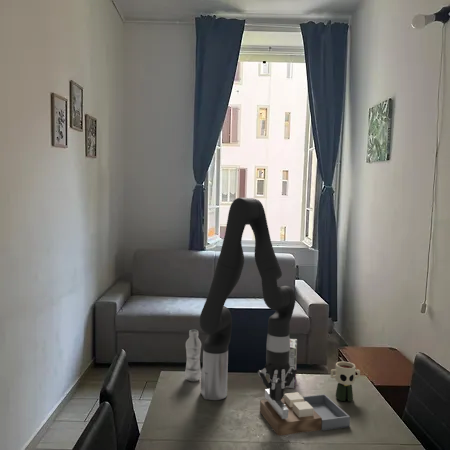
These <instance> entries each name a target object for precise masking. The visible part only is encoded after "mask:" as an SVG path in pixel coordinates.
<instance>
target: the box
mask: <svg viewBox="0 0 450 450" xmlns="http://www.w3.org/2000/svg"><path fill="white" fill-rule="evenodd" d="M302 397H303V398H304V401H307V402H308V403H309V404H310V405H311V406H312V407H313V408H314V411H315V412H316V413H317V414H318V415H319V416H320V417H321V418H322V425H321V430H320V431H323V432H324V431H330V430H338V429H344V428H351V426H350V425H351V416H350V414H348V413H347V412H345V410H344V409H342V408H341V407H340V406H339V405H337V404H336V403H335V402H334V401H333V400H332V399H331V398H330V397H329V396H328V395H326V394H325V393H324V394H322V393H321V394H315V395H314V394H312V395H305V396H302Z"/></svg>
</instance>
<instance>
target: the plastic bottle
mask: <svg viewBox="0 0 450 450" xmlns="http://www.w3.org/2000/svg"><path fill="white" fill-rule="evenodd" d="M199 334H200V333H199V330H197V329H190V330H189V332H188V339H186V341H185V351H186V362H185V363H186V364H185V371H184V377H185V379H186V381H189V382H199V380H201V361H200V359H201V350H202V341H201V340H200V338H199Z"/></svg>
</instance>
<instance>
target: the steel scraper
mask: <svg viewBox="0 0 450 450" xmlns="http://www.w3.org/2000/svg"><path fill="white" fill-rule="evenodd" d="M281 385H282V383H281V382H280V381H279V380H278V378H277V380H276V383H275V400H272V399H271V398H270V396H269V388H265V389H264V398H265V399H264V400H267V401H268V402H269V403H270V405H271V406H272V407H273V408H274V410H275V411H276V412H277V413H278V415H279V416H280V417H281V418H282V419H287V418H288V408H287V407H286V406H285V405H284V404H283V402H282V401H281Z"/></svg>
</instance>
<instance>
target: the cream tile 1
mask: <svg viewBox="0 0 450 450" xmlns="http://www.w3.org/2000/svg"><path fill="white" fill-rule="evenodd" d="M283 398H284V401H285V402H286V403H287V405H288V406H289V407H293V403H295V402H304V398H303V396H302V395H301V394H300V393H299V392H298V391H296V392H288V393H287V392H286V393H284V396H283Z"/></svg>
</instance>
